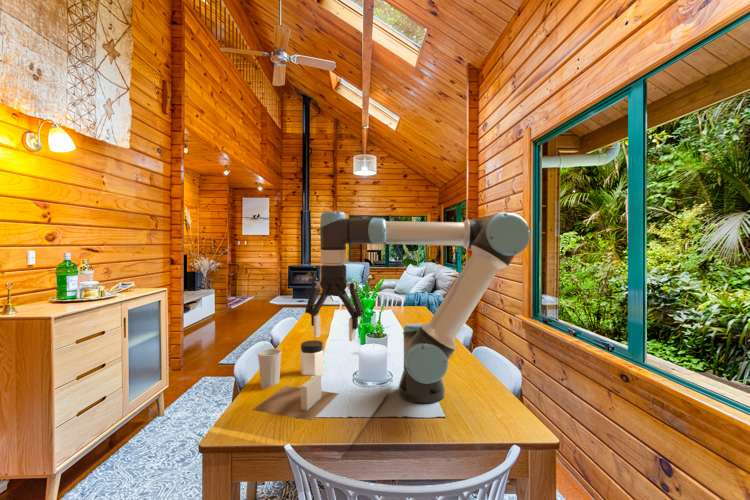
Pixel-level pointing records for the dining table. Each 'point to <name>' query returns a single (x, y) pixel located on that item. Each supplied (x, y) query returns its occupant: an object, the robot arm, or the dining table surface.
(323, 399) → the board
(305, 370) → the jar
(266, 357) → the cup
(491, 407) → the dining table surface
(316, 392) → the tile
